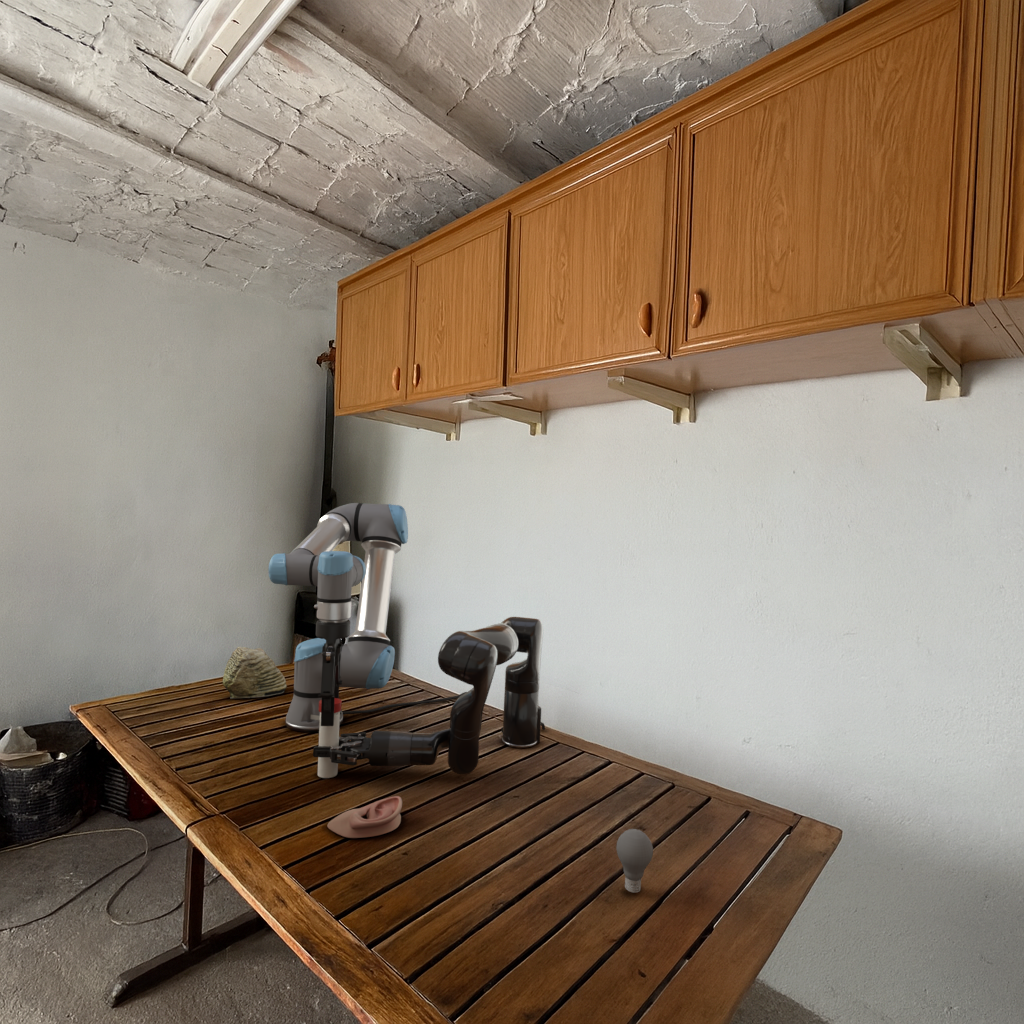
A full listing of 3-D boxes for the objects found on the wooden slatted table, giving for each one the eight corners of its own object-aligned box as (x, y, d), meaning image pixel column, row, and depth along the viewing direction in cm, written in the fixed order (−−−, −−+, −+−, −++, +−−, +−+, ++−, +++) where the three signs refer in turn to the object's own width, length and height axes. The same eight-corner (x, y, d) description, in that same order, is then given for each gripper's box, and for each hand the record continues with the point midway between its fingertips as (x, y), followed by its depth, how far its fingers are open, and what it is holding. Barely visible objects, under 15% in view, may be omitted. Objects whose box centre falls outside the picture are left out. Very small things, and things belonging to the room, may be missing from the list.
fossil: (218, 695, 195) (220, 647, 195) (278, 685, 208) (279, 640, 207) (228, 703, 189) (230, 653, 188) (289, 692, 201) (290, 645, 201)
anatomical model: (320, 812, 119) (347, 786, 130) (319, 833, 119) (347, 805, 130) (386, 822, 116) (408, 795, 127) (385, 844, 116) (408, 814, 128)
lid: (337, 705, 148) (337, 696, 148) (344, 711, 144) (344, 702, 144) (315, 708, 145) (316, 699, 145) (322, 715, 141) (322, 706, 141)
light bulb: (610, 879, 108) (613, 822, 108) (644, 879, 109) (647, 822, 109) (619, 902, 102) (622, 840, 102) (655, 901, 103) (658, 840, 103)
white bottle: (319, 779, 142) (322, 708, 142) (315, 771, 146) (318, 702, 145) (339, 776, 144) (342, 706, 144) (335, 768, 148) (337, 700, 147)
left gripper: (323, 611, 153) (319, 705, 154) (308, 628, 134) (304, 736, 134) (354, 611, 155) (351, 705, 155) (345, 628, 135) (341, 735, 135)
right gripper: (396, 721, 153) (324, 720, 152) (388, 744, 138) (308, 743, 137) (394, 752, 153) (322, 751, 152) (387, 778, 139) (307, 777, 137)
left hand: (329, 719), depth 145 cm, fingers open, 7 cm apart
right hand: (316, 747), depth 144 cm, fingers closed on white bottle, 4 cm apart
